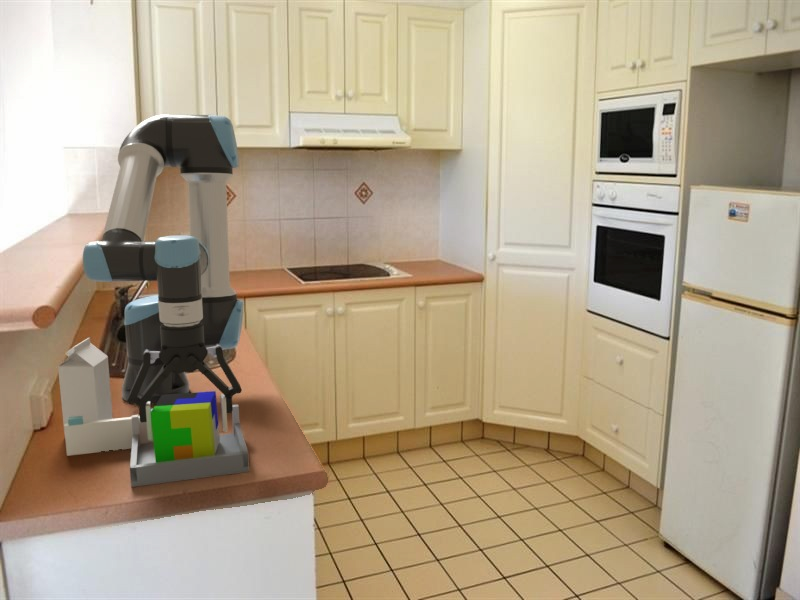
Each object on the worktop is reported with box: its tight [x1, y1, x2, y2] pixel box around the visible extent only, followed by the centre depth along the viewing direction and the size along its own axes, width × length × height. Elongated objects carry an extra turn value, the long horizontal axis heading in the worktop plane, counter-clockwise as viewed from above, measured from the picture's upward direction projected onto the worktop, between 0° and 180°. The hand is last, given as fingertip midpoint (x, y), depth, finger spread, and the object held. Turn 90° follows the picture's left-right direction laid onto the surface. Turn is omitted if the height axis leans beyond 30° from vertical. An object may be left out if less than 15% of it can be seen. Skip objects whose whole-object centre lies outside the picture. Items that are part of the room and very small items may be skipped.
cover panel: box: [63, 408, 154, 457], centre depth 137 cm, size 1×18×7 cm, turn 108°
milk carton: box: [57, 337, 114, 435], centre depth 144 cm, size 7×7×19 cm
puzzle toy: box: [151, 390, 220, 463], centre depth 132 cm, size 10×10×10 cm
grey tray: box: [129, 404, 250, 488], centre depth 132 cm, size 16×20×7 cm
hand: (188, 433), depth 132 cm, fingers open, 13 cm apart
